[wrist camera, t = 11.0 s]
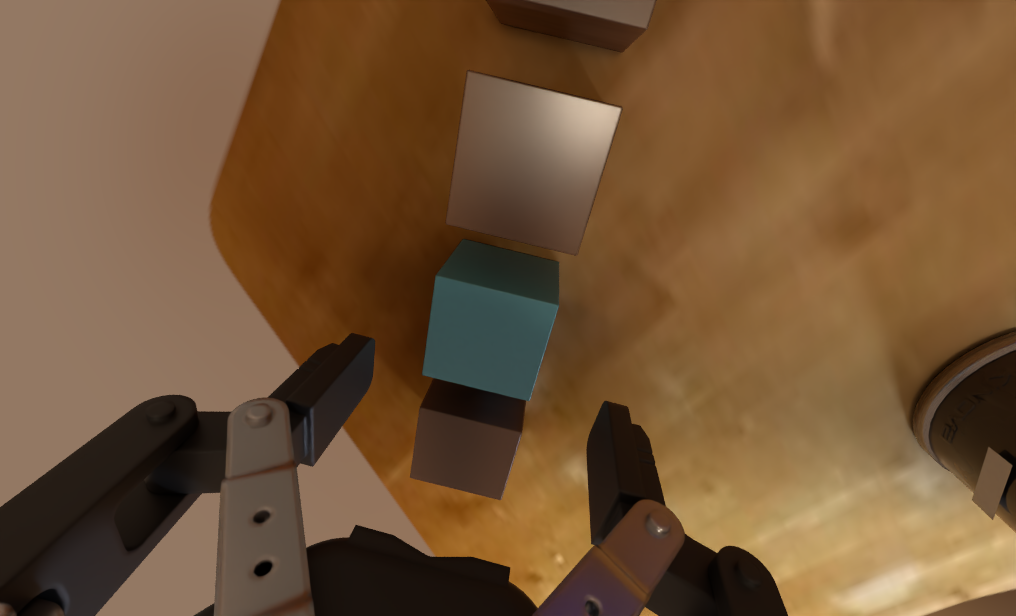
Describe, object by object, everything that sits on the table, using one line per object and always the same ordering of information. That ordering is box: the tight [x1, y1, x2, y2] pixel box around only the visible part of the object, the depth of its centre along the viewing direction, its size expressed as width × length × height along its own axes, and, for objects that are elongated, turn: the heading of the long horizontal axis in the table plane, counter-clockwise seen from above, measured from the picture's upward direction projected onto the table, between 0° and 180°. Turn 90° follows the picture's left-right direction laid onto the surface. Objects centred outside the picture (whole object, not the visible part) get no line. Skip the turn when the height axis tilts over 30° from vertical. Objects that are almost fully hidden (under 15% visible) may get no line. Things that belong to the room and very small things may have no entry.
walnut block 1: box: [410, 378, 526, 500], centre depth 22 cm, size 5×5×5 cm
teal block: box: [422, 239, 559, 401], centre depth 19 cm, size 5×5×5 cm
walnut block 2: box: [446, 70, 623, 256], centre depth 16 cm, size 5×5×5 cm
